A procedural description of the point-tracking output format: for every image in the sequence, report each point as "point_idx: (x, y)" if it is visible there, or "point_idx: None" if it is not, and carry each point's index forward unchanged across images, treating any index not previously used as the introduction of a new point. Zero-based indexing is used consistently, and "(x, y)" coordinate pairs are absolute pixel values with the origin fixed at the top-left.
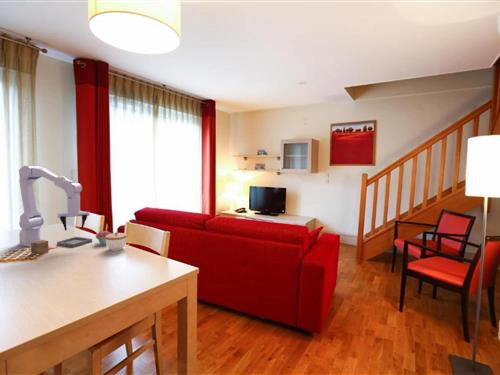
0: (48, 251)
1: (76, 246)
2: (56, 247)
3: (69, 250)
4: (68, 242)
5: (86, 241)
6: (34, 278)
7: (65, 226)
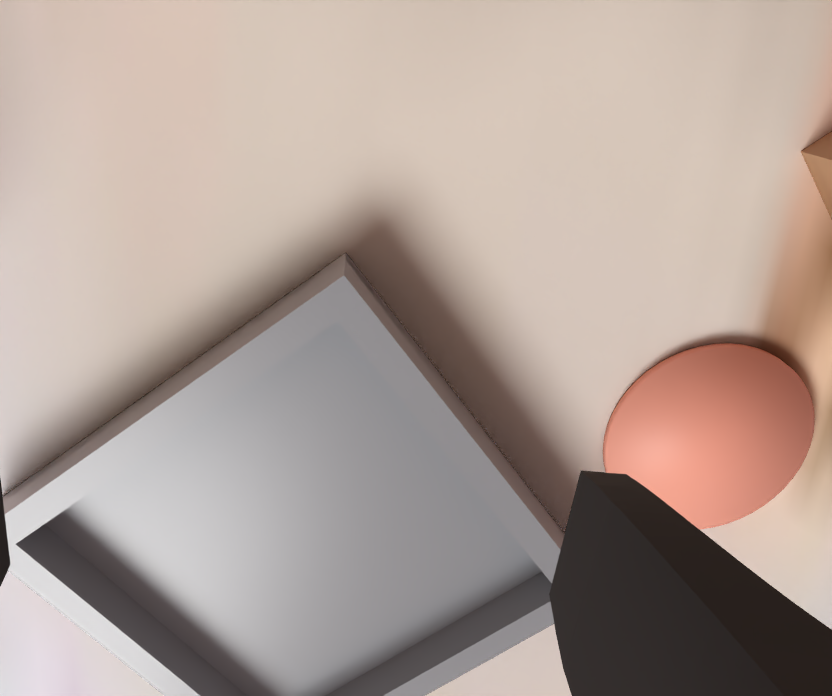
0: (808, 154)
1: (291, 291)
2: (621, 399)
3: (443, 40)
4: (409, 575)
5: (86, 447)
6: None
7: (692, 565)
